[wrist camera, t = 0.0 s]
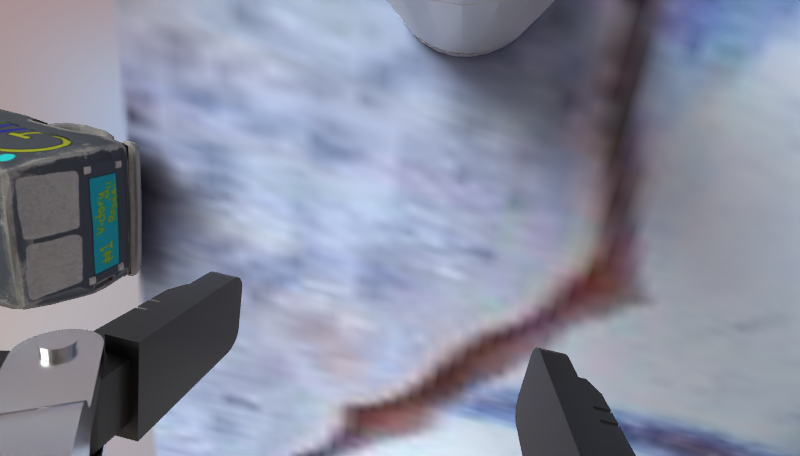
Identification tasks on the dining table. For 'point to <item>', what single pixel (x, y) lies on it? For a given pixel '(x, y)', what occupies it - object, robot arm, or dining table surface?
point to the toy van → (65, 211)
